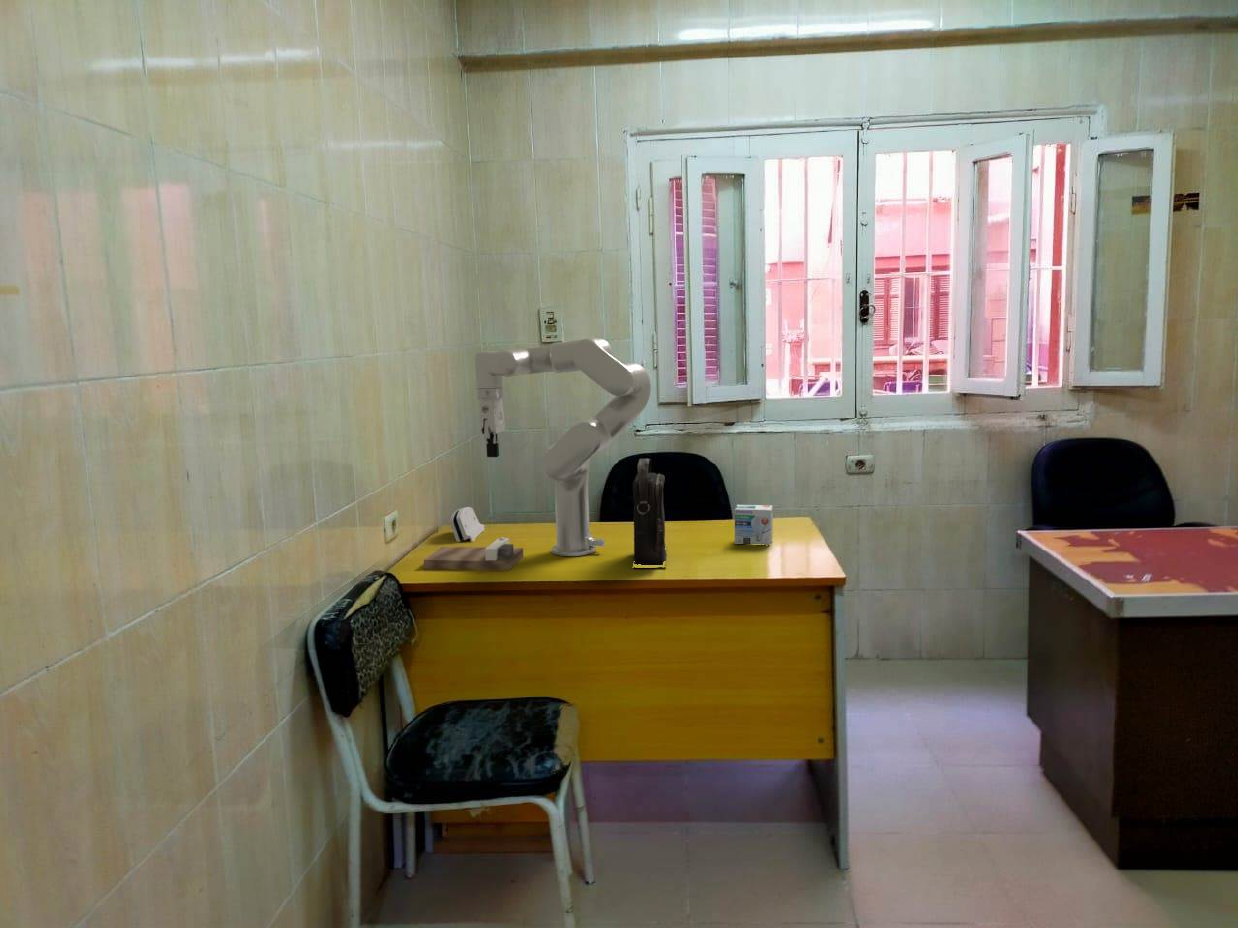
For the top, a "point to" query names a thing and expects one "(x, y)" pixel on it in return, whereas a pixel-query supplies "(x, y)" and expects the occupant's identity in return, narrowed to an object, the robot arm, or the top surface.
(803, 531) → the top surface
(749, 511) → the light bulb box
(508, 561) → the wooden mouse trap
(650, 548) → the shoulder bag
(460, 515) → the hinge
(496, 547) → the folding leg
